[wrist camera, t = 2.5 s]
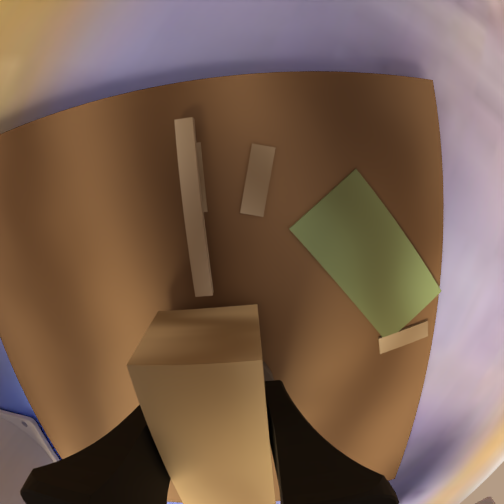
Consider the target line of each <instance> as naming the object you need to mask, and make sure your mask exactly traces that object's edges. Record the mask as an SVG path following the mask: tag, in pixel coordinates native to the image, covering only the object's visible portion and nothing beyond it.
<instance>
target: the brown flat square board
mask: <svg viewBox="0 0 504 504" xmlns="http://www.w3.org/2000/svg"><path fill="white" fill-rule="evenodd" d="M190 117H193V118H194V120H195V132H196V143H197V154H198V164H199V174H200V184H201V193H202V202H203V211H204V220H205V228H206V237H207V245H208V253H209V260H210V268H211V276H212V283H213V290H214V292H213V296H201V297H195V291H194V284H193V278H192V271H191V264H190V257H189V250H188V243H187V235H186V228H185V220H184V212H183V203H182V195H181V186H180V176H179V167H178V156H177V146H176V134H175V122H174V120H176V119H183V118H190ZM442 245H443V171H442V154H441V141H440V131H439V122H438V113H437V106H436V99H435V92H434V86H433V80H428V79H421V78H414V77H405V76H396V75H386V74H374V73H358V72H329V71H301V72H272V73H256V74H243V75H233V76H223V77H214V78H207V79H199V80H192V81H186V82H179V83H174V84H168V85H162V86H157V87H152V88H147V89H142V90H138V91H133V92H129V93H124V94H120V95H116V96H112V97H108V98H104V99H101V100H97V101H93V102H90V103H86V104H83V105H80V106H76V107H73V108H70V109H67V110H64V111H60V112H57V113H54V114H52V115H49V116H46V117H43V118H40V119H37V120H35V121H32V122H29V123H27V124H24V125H22V126H19V127H17V128H14V129H12V130H9V131H7V132H5V133H2V134H0V337H1V340H2V342H3V345H4V348H5V350H6V353H7V355H8V358H9V360H10V362H11V365H12V367H13V369H14V372H15V374H16V376H17V378H18V381H19V383H20V385H21V387H22V389H23V391H24V393H25V395H26V397H27V399H28V401H29V403H30V405H31V407H32V409H33V411H34V413H35V415H36V416H37V418H38V420H39V422H40V424H41V425H42V427H43V429H44V431H45V432H46V434H47V436H48V437H49V439H50V441H51V442H52V444H53V446H54V447H55V449H56V450H57V452H58V454H59V455H60V457H61V458H62V459H64V458H67V457H69V456H71V455H73V454H75V453H77V452H79V451H81V450H83V449H84V448H86V447H88V446H90V445H91V444H93V443H95V442H96V441H98V440H99V439H101V438H102V437H103V436H105V435H106V434H108V433H109V432H110V431H111V430H113V429H114V428H115V427H116V426H117V425H118V424H120V423H121V422H122V421H123V420H124V419H125V418H126V417H127V416H129V415H130V414H131V413H132V412H133V411H134V410H135V409H136V408H137V407H138V406H139V405H140V404H139V401H138V398H137V395H136V392H135V390H134V387H133V384H132V381H131V378H130V375H129V372H128V369H127V363H128V362H129V360H130V358H131V356H132V355H133V353H134V351H135V350H136V348H137V346H138V344H139V343H140V341H141V339H142V337H143V336H144V334H145V332H146V331H147V329H148V327H149V326H150V324H151V322H152V321H153V319H154V317H155V315H156V314H157V312H158V311H173V310H189V309H203V308H217V307H229V306H241V305H253V304H257V306H258V317H259V327H260V338H261V349H262V359H263V361H264V362H265V363H266V364H267V366H268V367H269V368H270V370H271V372H272V375H273V378H274V380H281V381H282V382H283V384H284V387H285V389H286V391H287V393H288V394H289V396H290V398H291V399H292V401H293V402H294V404H295V405H296V407H297V408H298V409H299V411H300V412H301V414H302V415H303V416H304V417H305V419H306V420H307V421H308V422H309V423H310V424H311V425H312V427H313V428H314V429H315V430H316V431H317V432H318V433H319V434H320V435H321V436H322V437H323V438H325V439H326V440H327V441H328V442H329V443H330V444H332V445H333V446H334V447H335V448H337V449H338V450H339V451H341V452H342V453H344V454H345V455H346V456H348V457H349V458H351V459H352V460H354V461H356V462H357V463H359V464H361V465H363V466H364V467H366V468H368V469H370V470H373V471H375V472H377V473H379V474H382V475H384V476H385V478H386V479H387V480H392V479H395V476H396V474H397V471H398V468H399V466H400V463H401V460H402V457H403V454H404V451H405V448H406V445H407V442H408V439H409V436H410V432H411V429H412V426H413V422H414V419H415V415H416V412H417V408H418V404H419V400H420V396H421V392H422V388H423V384H424V379H425V375H426V370H427V365H428V360H429V355H430V350H431V344H432V338H433V332H434V326H435V319H436V312H437V304H438V295H439V293H440V292H441V290H440V288H439V286H440V275H441V262H442ZM271 456H272V467H273V479H274V491H275V501H280V491H279V485H278V479H277V474H276V470H275V465H274V460H273V455H272V450H271ZM167 501H169V502H182V500H181V498H180V496H179V494H178V492H177V490H176V488H175V486H174V484H173V482H172V480H170V484H169V489H168V495H167Z"/></svg>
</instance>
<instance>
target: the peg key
mask: <svg viewBox="0 0 504 504" xmlns="http://www.w3.org/2000/svg"><path fill="white" fill-rule="evenodd" d="M174 122H175V134H176V146H177V156H178V167H179V176H180V186H181V195H182V203H183V212H184V220H185V228H186V235H187V243H188V250H189V257H190V264H191V271H192V278H193V284H194V291H195V297H201V296H213V292H214V290H213V283H212V276H211V268H210V260H209V253H208V245H207V237H206V228H205V220H204V211H203V202H202V193H201V184H200V174H199V164H198V154H197V143H196V132H195V120H194V118H193V117H190V118H183V119H176V120H174ZM127 369H128V372H129V375H130V378H131V381H132V384H133V387H134V390H135V392H136V395H137V398H138V401H139V404H140V406H141V409H142V412H143V414H144V417H145V420H146V422H147V425H148V427H149V430H150V432H151V435H152V437H153V440H154V442H155V444H156V447H157V449H158V451H159V454H160V456H161V458H162V461H163V463H164V465H165V467H166V469H167V472H168V474H169V476H170V478H171V480H172V482H173V484H174V486H175V488H176V490H177V492H178V494H179V496H180V498H181V500H182V502H183V504H276V502H275V491H274V479H273V467H272V456H271V445H270V437H269V426H268V415H267V405H266V394H265V381H273V380H274V378H273V375H272V372H271V370H270V368H269V367H268V366H267V364H266V363H265V362H264V361H263V359H262V349H261V338H260V327H259V317H258V306H257V304H253V305H241V306H229V307H217V308H203V309H189V310H173V311H158V312H157V314H156V315H155V317H154V319H153V321H152V322H151V324H150V326H149V327H148V329H147V331H146V332H145V334H144V336H143V337H142V339H141V341H140V343H139V344H138V346H137V348H136V350H135V351H134V353H133V355H132V356H131V358H130V360H129V362H128V363H127Z"/></svg>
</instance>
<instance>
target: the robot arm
mask: <svg viewBox="0 0 504 504" xmlns="http://www.w3.org/2000/svg"><path fill="white" fill-rule="evenodd" d="M265 394H266V405H267V415H268V426H269V437H270V445H271V450H272V455H273V460H274V465H275V470H276V474H277V479H278V485H279V491H280V501H281V504H399V501H398V498H397V495H396V493H395V491H394V489H393V488H392V486H391V485H390V483H389V482H388V480H387V479H386V478H385V476H384V475H382V474H379V473H377V472H375V471H373V470H370V469H368V468H366V467H364V466H363V465H361V464H359V463H357V462H356V461H354V460H352V459H351V458H349V457H348V456H346V455H345V454H344V453H342V452H341V451H339V450H338V449H337V448H335V447H334V446H333V445H332V444H330V443H329V442H328V441H327V440H326V439H325V438H323V437H322V436H321V435H320V434H319V433H318V432H317V431H316V430H315V429H314V428H313V427H312V425H311V424H310V423H309V422H308V421H307V420H306V419H305V417H304V416H303V415H302V414H301V412H300V411H299V409H298V408H297V407H296V405H295V404H294V402H293V401H292V399H291V398H290V396H289V394H288V393H287V391H286V389H285V387H284V384H283V382H282V381H281V380H273V381H265ZM170 480H171V478H170V476H169V474H168V472H167V469H166V467H165V465H164V463H163V461H162V458H161V456H160V454H159V451H158V449H157V447H156V444H155V442H154V440H153V437H152V435H151V432H150V430H149V427H148V425H147V422H146V420H145V417H144V414H143V412H142V409H141V406H140V405H139V406H138V407H137V408H136V409H135V410H134V411H133V412H132V413H131V414H130V415H129V416H127V417H126V418H125V419H124V420H123V421H122V422H121V423H120V424H118V425H117V426H116V427H115V428H114V429H113V430H111V431H110V432H109V433H108V434H106V435H105V436H103V437H102V438H101V439H99V440H98V441H96V442H95V443H93V444H91V445H90V446H88V447H86V448H84V449H83V450H81V451H79V452H77V453H75V454H73V455H71V456H69V457H67V458H64V459H62V460H59V458H58V457H57V455H56V454H55V452H54V451H53V449H52V448H51V446H50V444H49V443H48V441H47V439H46V438H45V436H44V434H43V433H42V431H41V429H40V428H39V426H38V424H37V422H36V421H35V420H34V419H33V418H31V417H28V416H23V415H19V414H15V413H11V412H8V411H4V410H0V504H167V495H168V489H169V484H170ZM475 504H495V502H494V501H493V499H492V498H491V497H487V498H485V499H483V500H481V501H479V502H477V503H475Z"/></svg>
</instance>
